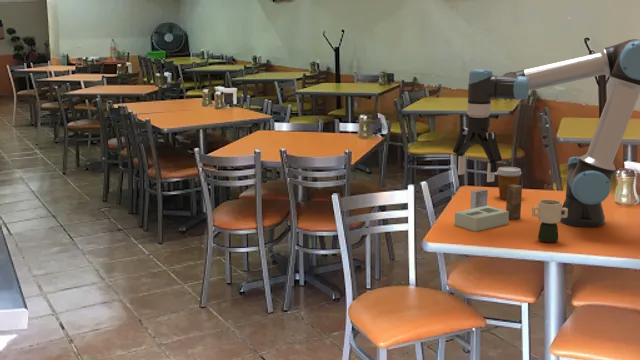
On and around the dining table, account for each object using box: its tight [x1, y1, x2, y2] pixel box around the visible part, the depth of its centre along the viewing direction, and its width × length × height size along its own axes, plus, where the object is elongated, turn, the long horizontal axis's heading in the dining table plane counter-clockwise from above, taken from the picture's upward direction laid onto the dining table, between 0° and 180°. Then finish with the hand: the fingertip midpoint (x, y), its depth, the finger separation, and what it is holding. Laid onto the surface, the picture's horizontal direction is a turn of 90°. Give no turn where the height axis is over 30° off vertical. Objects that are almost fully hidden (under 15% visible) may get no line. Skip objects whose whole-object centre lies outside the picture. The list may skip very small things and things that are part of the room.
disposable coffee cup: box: [496, 166, 522, 201], centre depth 289 cm, size 10×10×12 cm
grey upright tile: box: [470, 188, 489, 209], centre depth 266 cm, size 2×6×9 cm, turn 124°
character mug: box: [531, 198, 568, 243], centre depth 234 cm, size 11×7×13 cm, turn 77°
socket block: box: [454, 205, 510, 232], centre depth 254 cm, size 10×16×4 cm, turn 124°
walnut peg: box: [505, 184, 523, 221], centre depth 260 cm, size 4×4×12 cm
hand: (475, 177), depth 249 cm, fingers open, 13 cm apart
